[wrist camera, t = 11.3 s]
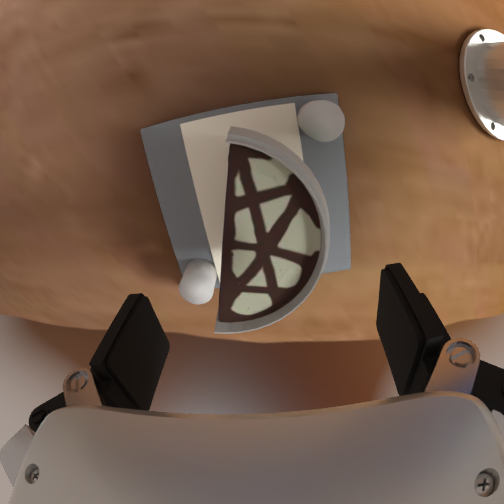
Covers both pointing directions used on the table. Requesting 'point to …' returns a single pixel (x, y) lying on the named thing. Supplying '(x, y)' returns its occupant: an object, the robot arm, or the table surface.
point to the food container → (268, 233)
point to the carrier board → (216, 170)
